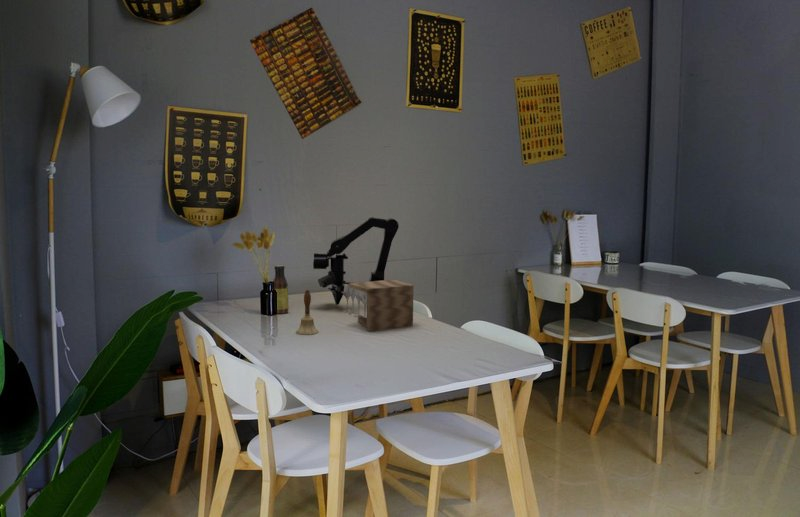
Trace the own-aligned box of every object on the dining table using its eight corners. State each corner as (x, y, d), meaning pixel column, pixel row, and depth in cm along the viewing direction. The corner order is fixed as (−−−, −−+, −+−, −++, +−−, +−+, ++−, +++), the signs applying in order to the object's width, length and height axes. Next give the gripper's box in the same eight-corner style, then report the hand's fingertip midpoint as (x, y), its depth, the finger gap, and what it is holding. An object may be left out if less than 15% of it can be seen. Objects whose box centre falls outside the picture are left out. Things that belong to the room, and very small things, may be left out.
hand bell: (322, 331, 251) (322, 289, 248) (310, 336, 243) (310, 292, 241) (303, 328, 254) (303, 287, 252) (291, 333, 247) (291, 290, 244)
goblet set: (380, 322, 266) (380, 289, 264) (367, 324, 263) (367, 290, 261) (350, 309, 290) (350, 279, 288) (338, 310, 287) (338, 279, 285)
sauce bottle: (291, 312, 281) (291, 265, 279) (279, 314, 277) (279, 267, 274) (282, 310, 286) (281, 264, 283) (269, 312, 281) (269, 265, 278)
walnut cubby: (392, 318, 274) (392, 279, 272) (412, 325, 261) (413, 285, 259) (349, 323, 263) (349, 283, 261) (368, 331, 250) (369, 289, 248)
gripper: (310, 267, 293) (311, 302, 296) (330, 273, 278) (330, 310, 280) (333, 265, 299) (333, 300, 302) (353, 271, 284) (353, 307, 286)
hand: (337, 304), depth 292 cm, fingers closed
